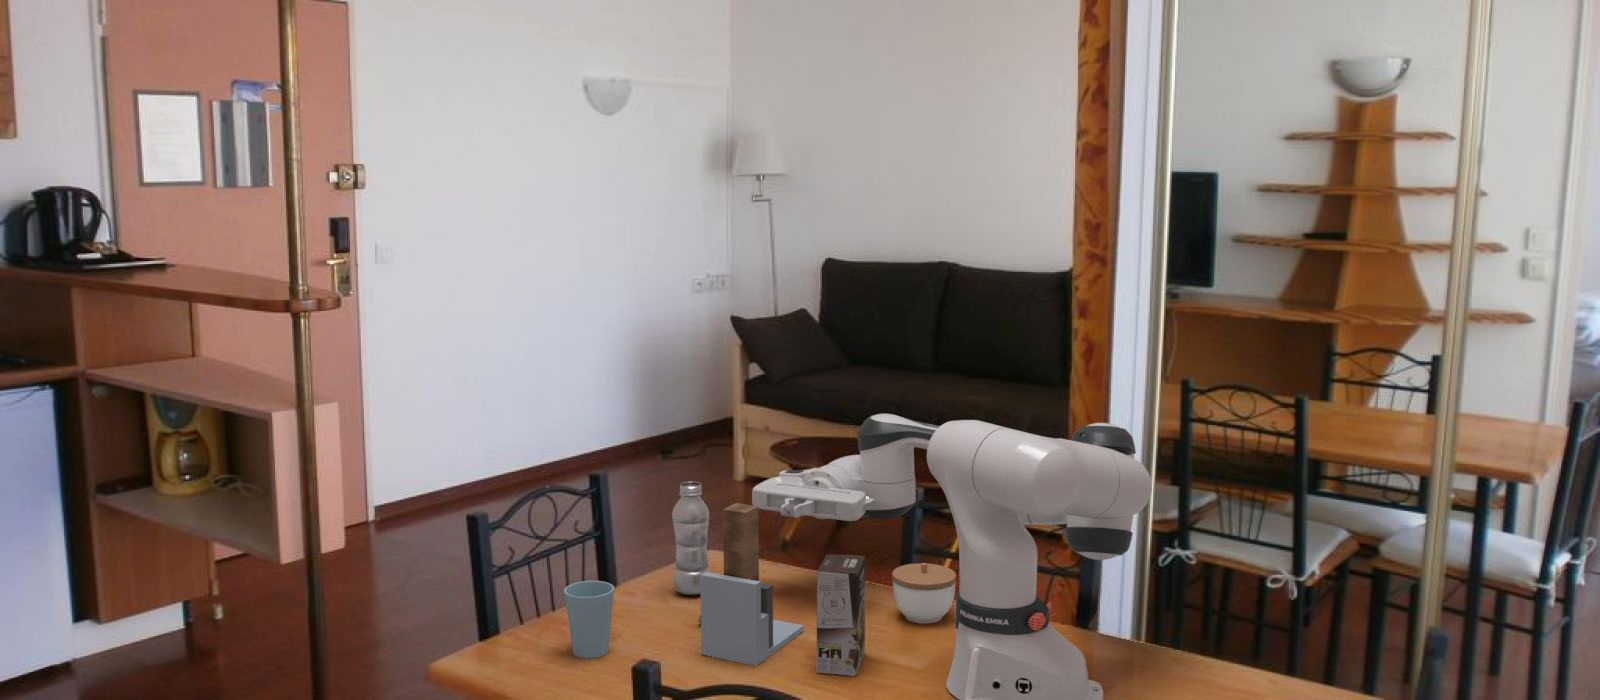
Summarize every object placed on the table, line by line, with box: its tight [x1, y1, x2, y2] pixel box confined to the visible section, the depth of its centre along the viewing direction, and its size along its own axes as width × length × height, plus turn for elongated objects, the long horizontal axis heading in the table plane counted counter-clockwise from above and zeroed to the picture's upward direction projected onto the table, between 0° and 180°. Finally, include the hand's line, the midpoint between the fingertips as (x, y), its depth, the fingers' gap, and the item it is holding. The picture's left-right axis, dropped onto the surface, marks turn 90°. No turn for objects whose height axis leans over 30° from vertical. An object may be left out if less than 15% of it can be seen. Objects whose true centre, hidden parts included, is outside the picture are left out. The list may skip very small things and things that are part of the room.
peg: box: [722, 502, 760, 581], centre depth 196 cm, size 4×4×22 cm
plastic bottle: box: [671, 481, 711, 596], centre depth 222 cm, size 6×7×20 cm
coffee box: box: [815, 553, 867, 677], centre depth 192 cm, size 9×6×16 cm
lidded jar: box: [891, 562, 957, 625], centre depth 211 cm, size 11×11×9 cm
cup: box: [563, 580, 615, 659], centre depth 196 cm, size 8×8×10 cm
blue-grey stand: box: [700, 572, 805, 667], centre depth 200 cm, size 10×16×13 cm, turn 153°
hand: (788, 512), depth 210 cm, fingers closed
